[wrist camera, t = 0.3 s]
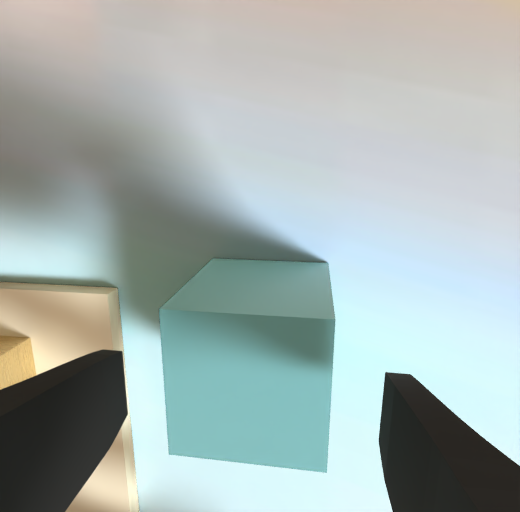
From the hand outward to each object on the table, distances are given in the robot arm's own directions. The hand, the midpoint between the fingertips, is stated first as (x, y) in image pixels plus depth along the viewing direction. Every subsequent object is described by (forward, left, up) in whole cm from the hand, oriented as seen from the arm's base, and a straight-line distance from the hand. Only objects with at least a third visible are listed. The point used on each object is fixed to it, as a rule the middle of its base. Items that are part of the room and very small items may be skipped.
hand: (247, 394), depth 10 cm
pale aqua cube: (-1, 0, -9) cm, 9 cm away
